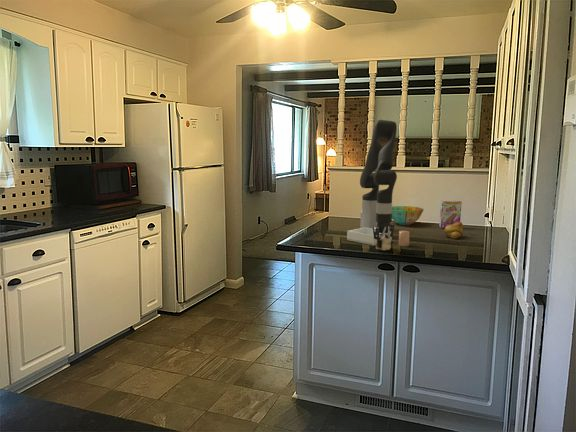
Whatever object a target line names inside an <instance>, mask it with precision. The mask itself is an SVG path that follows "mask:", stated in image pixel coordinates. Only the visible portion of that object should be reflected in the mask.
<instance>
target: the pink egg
mask: <svg viewBox="0 0 576 432" xmlns="http://www.w3.org/2000/svg"><path fill="white" fill-rule="evenodd" d="M398 246H400V247H409V246H410V231H409V230H399V231H398Z"/></svg>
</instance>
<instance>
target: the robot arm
mask: <svg viewBox="0 0 576 432" xmlns="http://www.w3.org/2000/svg"><path fill="white" fill-rule="evenodd" d="M397 126H398V125H397V123H396V121H392V120H385V119H378V120H376V121H375V124H374V126H373V131H372V136H371V142H370V145H369V149H368V152H367V155H366V159H365V164H364V167H363V170H362V172H361V175H360V178H359V185H360V187H361V188H363V189H371V190H370V191H369V192H366V193H364V194H363V195H362V199H361V201H362V205H361V206H362V207H361V212H360V221H359V222H360V223H359V224H360V226H359V227H360V228H365V227H366V228H372V229H373V235H374V239H376V240H377V247H378V248H382V237H383V236H385V238H389V239H390V237H393V236H394V230H395V225H394V224H392V222H393V219H392V207H393V193H394V189H395V188H394V187H395V185H396V182H397V178H398V175H397V174H398V173H397V172H396V171H395V170H393V167H394V166H393V165H394V150H395V145H396V144H395V143H396V137H397ZM380 139H384V140H388V141H387V142H386V144H384V146H383V144H382V143H381V141H380ZM374 171H375V172H374ZM380 186H388V187H387V188H385V189H380ZM379 232H380V233H382V234H379ZM390 232H391V234H390ZM376 235H377V237H376ZM379 236H380V238H379Z"/></svg>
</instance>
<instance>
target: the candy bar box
mask: <svg viewBox="0 0 576 432" xmlns="http://www.w3.org/2000/svg"><path fill="white" fill-rule="evenodd" d="M439 208H440V211H439V228H440V229H445V227H446V226H447V225H453V224H455V223H457V222H461V218H462V217H461V214H462V201H461V200H450V199H449V200H448V199H447V200H446V199H445V200H443V199H442V200H440V207H439Z"/></svg>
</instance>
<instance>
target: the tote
mask: <svg viewBox="0 0 576 432" xmlns="http://www.w3.org/2000/svg"><path fill="white" fill-rule="evenodd" d="M379 234H382V233H380V232H379ZM390 234H391V231H390ZM346 236H347V237H346V240H347V241H350V242H355V243H359V244H363V245H364V244H365V245H367V246H368V245H369V246H376V239H374V235H373V229H372V228H366V227H365V228H355V229H350V230H349V229H348V230H346ZM376 237H377V235H376ZM383 237H384V238H385V236H383ZM392 237H393V236H392ZM392 237H390V239H391V243H392ZM379 238H380V236H379Z"/></svg>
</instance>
